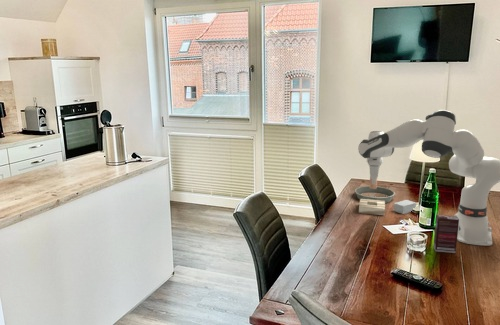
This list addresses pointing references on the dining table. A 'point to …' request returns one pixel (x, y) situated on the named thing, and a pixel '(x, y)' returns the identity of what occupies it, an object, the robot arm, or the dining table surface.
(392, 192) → the cake pan
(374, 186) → the peg
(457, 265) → the dining table surface
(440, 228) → the supplement box
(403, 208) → the grey rectangular block
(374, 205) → the socket board
